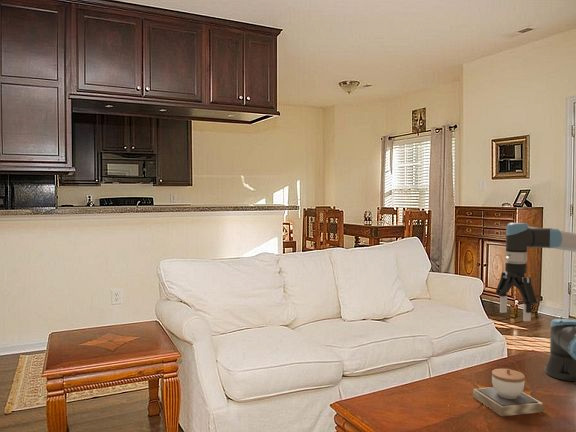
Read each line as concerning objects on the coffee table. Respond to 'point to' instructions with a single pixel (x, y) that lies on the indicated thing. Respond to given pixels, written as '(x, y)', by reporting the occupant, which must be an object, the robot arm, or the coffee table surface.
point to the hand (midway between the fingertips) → (514, 316)
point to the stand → (507, 402)
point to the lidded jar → (508, 382)
